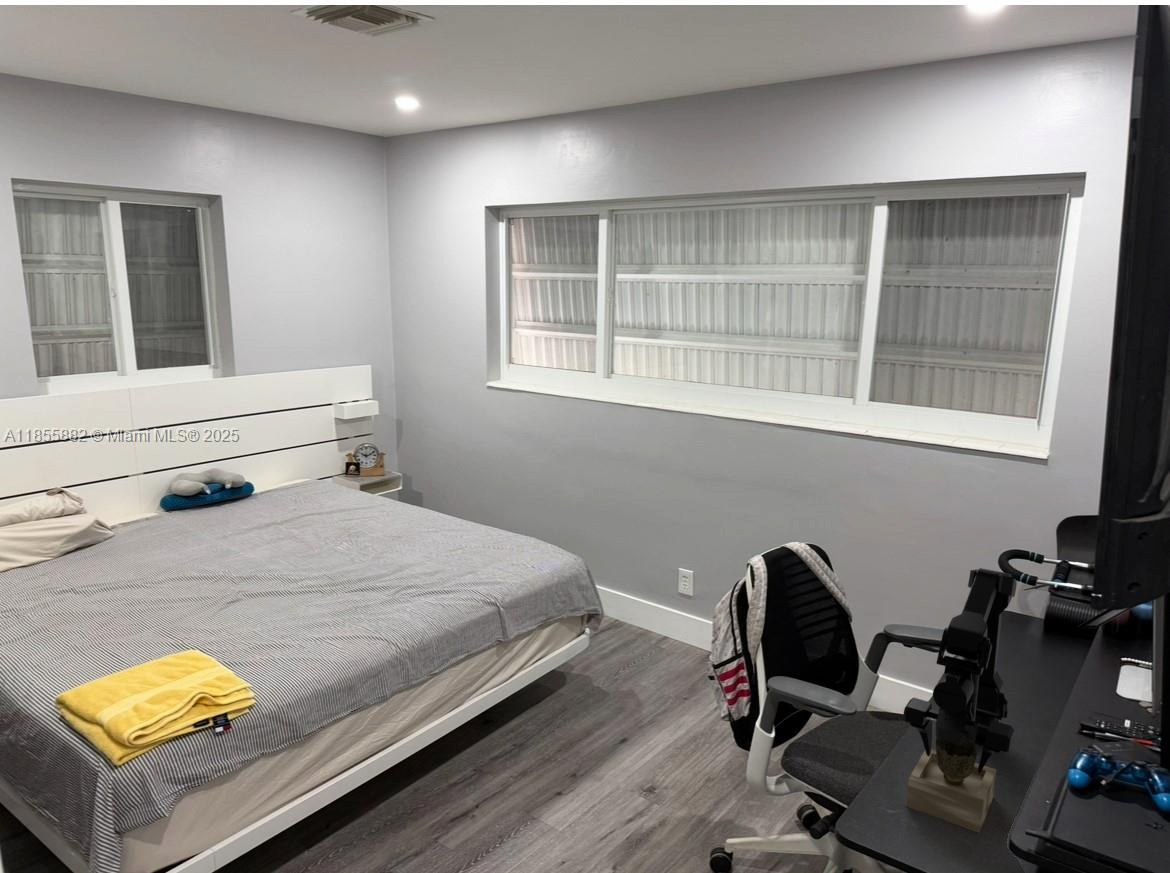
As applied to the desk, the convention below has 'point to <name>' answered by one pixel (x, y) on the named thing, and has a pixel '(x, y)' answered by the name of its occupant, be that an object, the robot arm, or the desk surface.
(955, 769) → the cup
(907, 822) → the desk surface
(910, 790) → the wooden box
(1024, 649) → the desk surface
